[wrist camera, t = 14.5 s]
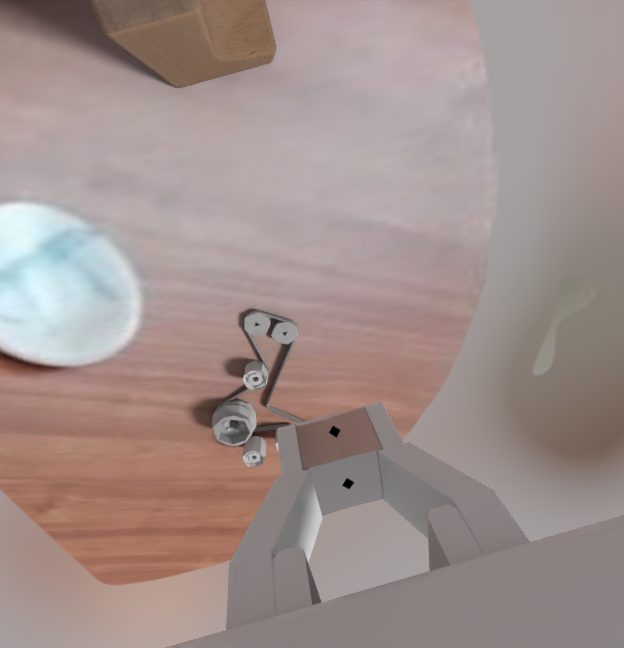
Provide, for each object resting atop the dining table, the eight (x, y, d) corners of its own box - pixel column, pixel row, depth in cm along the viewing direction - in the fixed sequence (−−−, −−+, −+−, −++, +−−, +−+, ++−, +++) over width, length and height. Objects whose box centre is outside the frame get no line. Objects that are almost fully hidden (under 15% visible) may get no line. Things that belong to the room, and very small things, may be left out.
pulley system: (253, 479, 56) (345, 450, 55) (251, 506, 52) (350, 475, 51) (170, 333, 44) (286, 294, 43) (159, 353, 39) (288, 310, 39)
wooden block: (257, -3, 29) (272, -171, 14) (273, 62, 31) (302, -17, 16) (151, 26, 29) (39, -111, 13) (175, 90, 31) (102, 38, 15)
